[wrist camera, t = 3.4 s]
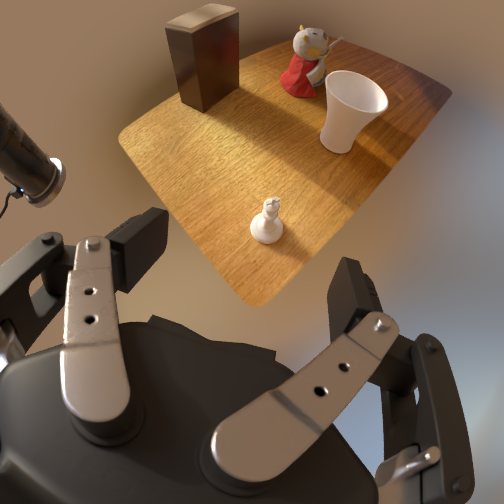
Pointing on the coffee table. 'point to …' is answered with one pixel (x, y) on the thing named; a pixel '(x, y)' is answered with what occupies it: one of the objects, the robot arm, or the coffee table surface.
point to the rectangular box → (205, 54)
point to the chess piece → (268, 223)
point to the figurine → (307, 62)
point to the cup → (349, 108)
